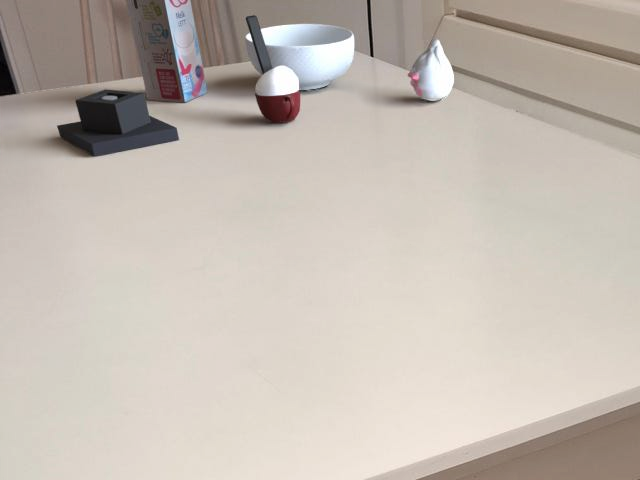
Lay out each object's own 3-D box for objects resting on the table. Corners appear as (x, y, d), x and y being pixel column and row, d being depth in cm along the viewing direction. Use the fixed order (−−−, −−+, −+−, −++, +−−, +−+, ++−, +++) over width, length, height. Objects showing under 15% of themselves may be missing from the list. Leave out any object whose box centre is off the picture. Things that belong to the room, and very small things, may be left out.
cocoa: (305, 126, 128) (292, 25, 120) (260, 129, 127) (244, 28, 119) (300, 110, 135) (288, 13, 127) (258, 112, 134) (243, 15, 126)
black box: (122, 134, 120) (114, 103, 118) (83, 130, 122) (74, 100, 119) (151, 122, 125) (144, 92, 122) (112, 118, 126) (105, 89, 124)
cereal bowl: (235, 95, 142) (226, 41, 137) (276, 71, 154) (269, 22, 149) (337, 100, 139) (332, 46, 134) (371, 76, 151) (367, 25, 146)
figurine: (402, 99, 139) (398, 37, 134) (443, 94, 142) (441, 33, 136) (419, 108, 135) (416, 45, 130) (461, 103, 137) (460, 41, 132)
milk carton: (207, 92, 143) (174, -85, 128) (185, 102, 139) (148, -80, 124) (171, 90, 145) (134, -86, 130) (147, 99, 140) (106, -81, 125)
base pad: (94, 156, 118) (83, 113, 115) (60, 137, 125) (48, 96, 121) (179, 139, 124) (170, 98, 120) (142, 122, 130) (132, 82, 127)
